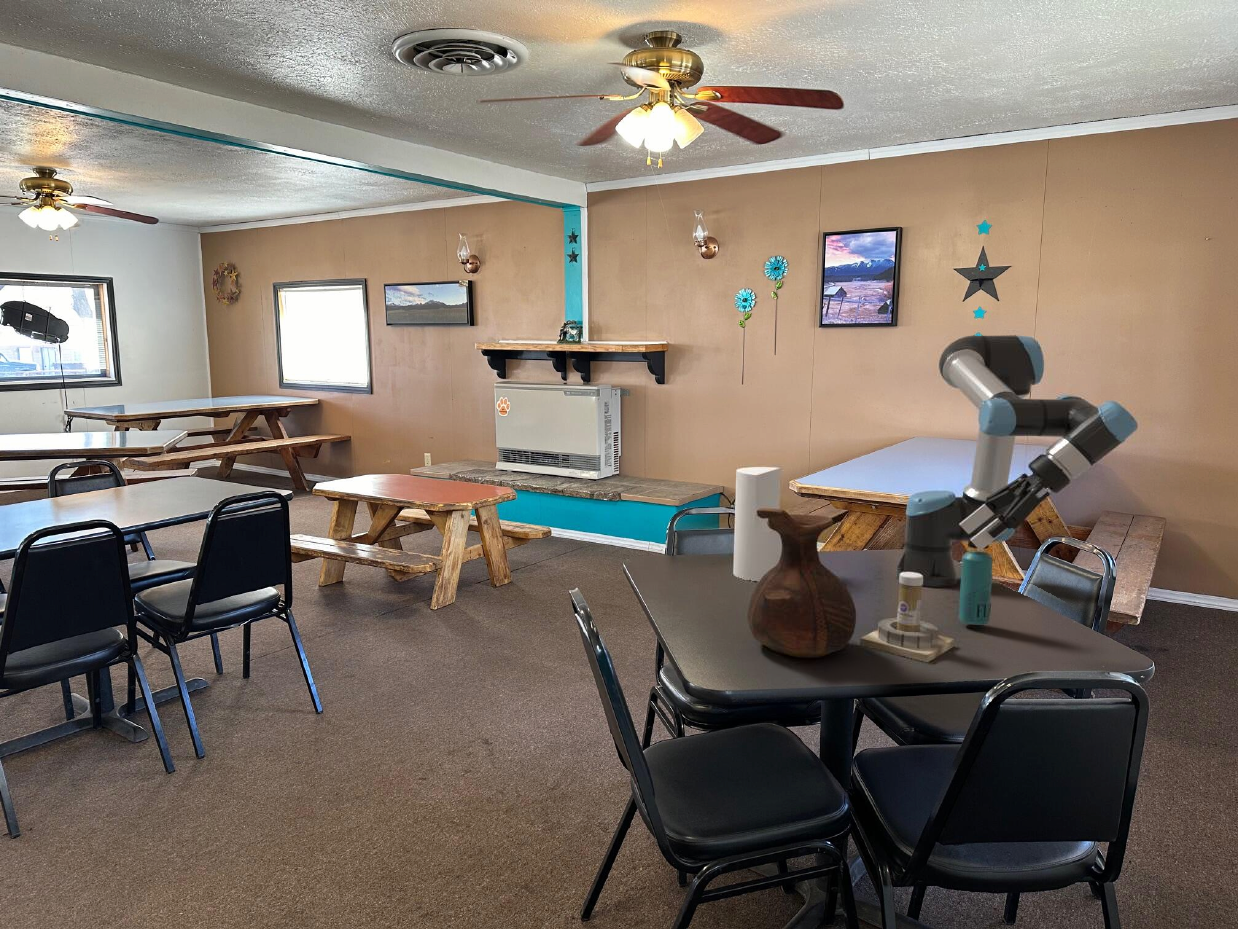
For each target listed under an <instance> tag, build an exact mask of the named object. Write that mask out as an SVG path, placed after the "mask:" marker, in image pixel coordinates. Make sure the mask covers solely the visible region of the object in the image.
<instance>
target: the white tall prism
mask: <svg viewBox="0 0 1238 929" xmlns="http://www.w3.org/2000/svg"><path fill="white" fill-rule="evenodd" d="M781 475H782V468H781V467H774V466H773V467H772V466H771V467H769V466H753V467H752V466H751V467H742V468H738V469H736V472H735V476H736V477H735V502H734V503H735V504H734V506H735V507H734V508H735V509H734V534H733V535H734V536H733V537H734V538H733V539H734V541H733V567H732V568H733V573H732V574H733V575H734V576H735V577H736V578H738V577H739V578H738V579H740V578H742V579H741V580H743V579H744V581H747V580H751V581H750V582H752V581H758V582H757V583H759V581H760V580H761V578H762V577H763V576H764V575H765V574H766V573H767V572H768V571H769V570H770V569H772V568H773V567H775V566H776V565H777V564H778V562H779V560H780V557H781V552H782V541H781V537H780V535H779V533H778V532H776V531H774V530H772V529H770V528H769V527H768V525H767V521H768V518H765V519H762V518H760V517H758V516H757V510H758V509H760V508H770V509H781V508H780V507H781V505H780V504H781V500H780V499H781Z"/></svg>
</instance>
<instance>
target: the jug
mask: <svg viewBox="0 0 1238 929" xmlns="http://www.w3.org/2000/svg"><path fill="white" fill-rule="evenodd" d="M757 516H758V517H760V518H762V519H765V518H768V521H767V525H768V527H769V528H770V529H772V530H774V531H776V532H778V533H779V535H780V537H781V541H782V552H781V557H780V560H779V562H778V564H777V565H776V566H775V567H773V568H772V569H770V570H769V571H768V572H767V573H766V574H765V575H764V576H763V577H762V578H761V580H760V581H759V582H757V584H756V587H755V588H754V590H753V593H752V594H751V597H750V601H749V604H748V609H747V624H748V627H749V630H750V633H751V635H752V636H753V638H754V639H755V640H756V641H757V642H759V643H761V644H762V645H763V646H765V647H767V648H769V649H770V650H771V651H774V652H776V653H779V654H782V655H783V654H784V655H786V656H787V655H788V656H792V657H794V658H806V659H807V658H809V659H810V658H811V659H813V658H821V657H823V656H826V655H829V654H831V653H835V652H837V651H840V650H842V649H843V648H844V647H845V646H846V645H847V644H848V643H849V642H850V641H851V640H852V637H853V635H854V634H855V629H856V625H857V624H856V622H857V610H856V606H855V602H854V600H853V597H852V595H851V594H850V591H849V589H848V588H847V587H846V585H845V584H844V583H843V581H842V580H841V579H840V578H839V576H837V575H836V574H835V573H834V572H832V571H831V570H830V569H829V568H828V567H826V566H825V565H823V563H822V562H821V559H820V556H819V550H818V541H819V537H820V536H821V534H822V533H823V532H824V531H825V530H827V529H829V528H830V527H832V526H833V525H834V519H832V518H831V517H828V516H824V515H816V514H815V515H814V514H800V513H797V514H795V513H793V514H792V513H791V514H790V513H788V512H787V511H786V510H784V509H781V508H779V509H770V508H760V509H758V510H757Z"/></svg>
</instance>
